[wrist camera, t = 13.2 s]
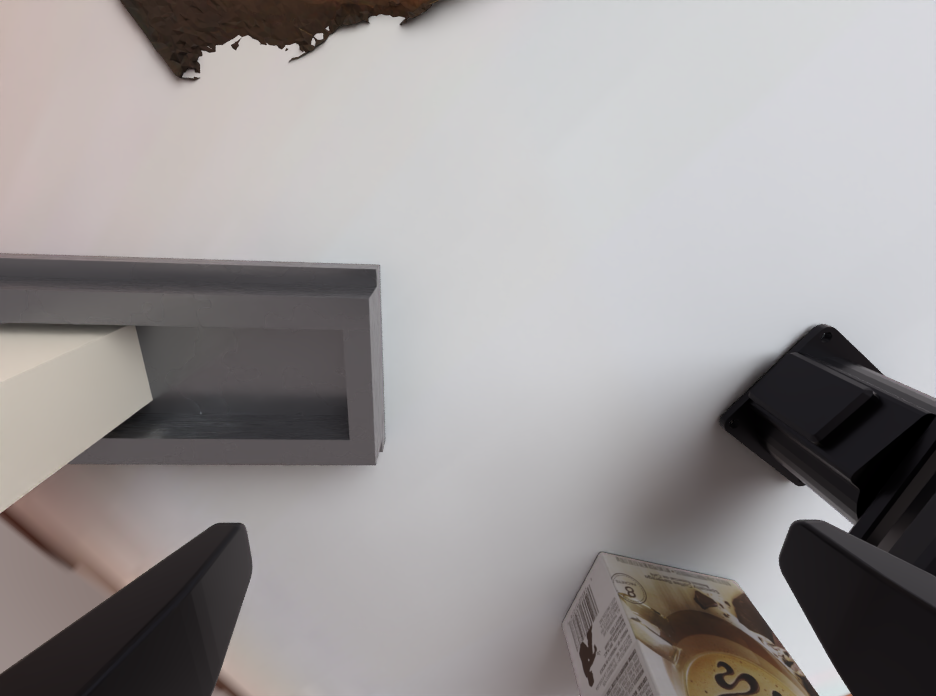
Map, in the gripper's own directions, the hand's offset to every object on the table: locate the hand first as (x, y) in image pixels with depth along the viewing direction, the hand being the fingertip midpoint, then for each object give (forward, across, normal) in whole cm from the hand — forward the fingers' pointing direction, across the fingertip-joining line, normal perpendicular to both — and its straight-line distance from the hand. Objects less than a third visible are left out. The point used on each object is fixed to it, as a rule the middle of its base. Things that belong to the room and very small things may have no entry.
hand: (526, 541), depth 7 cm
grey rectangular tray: (+13, +12, +2) cm, 18 cm away
